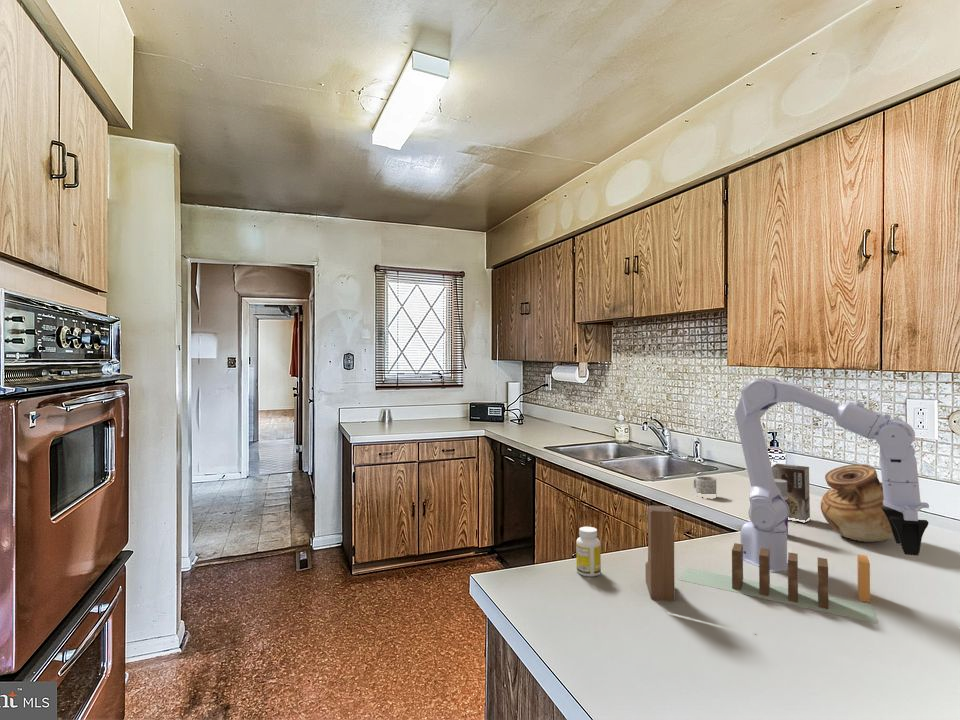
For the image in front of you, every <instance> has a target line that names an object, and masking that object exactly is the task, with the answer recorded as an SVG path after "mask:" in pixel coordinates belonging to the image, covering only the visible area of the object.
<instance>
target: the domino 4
mask: <svg viewBox="0 0 960 720" xmlns="http://www.w3.org/2000/svg"><path fill="white" fill-rule="evenodd" d="M817 594H818V607H820V608H825V609H829V602H828V597H829V563H828V558H824V557H819V556H818V557H817Z"/></svg>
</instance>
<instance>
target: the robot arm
mask: <svg viewBox="0 0 960 720" xmlns="http://www.w3.org/2000/svg"><path fill="white" fill-rule="evenodd" d="M740 394H741V395H740V398H739V401H738V403H737V406H736V408H735V412H734V417H735V421H736V422H735V423H736V427H737V430H738V433H739V439H740V443H741V448H742V452H743V456H744V461H745V464H746V468H747V469H746V470H747V474H748V478H749V479H748V480H749V483H750V486H751V487H750V491H749V492H750V493H749V499H748V500H749V503H750V505H749V508H748V518H749V520H750V521H746V522H745V523H744V524H743V525H742V527H741V530H740V543H739V544H743V562H746V563H749V564H751V565H754V566H755V567H758V568H759V553H760V549H761V548H767V549H770V573H778V572H784V571H788V536H787V527H786V525H785V522H784V520H786V519H787V517H788V516H789V507H788V504H787V503H786V502H785V500H784V499H783V498H782V495H781V491H780V490H779V488H778V487H777V486H776V484H775V480H774V476H773V472H772V464H771V458H770V456H769V450H768V447H767V442H766V439H765V435H764V430H763V426H762V425H763V424H762V421H761V419H762V417H763V415H765V413H767V411H768V410H769V409H770V408H771V407H773V406H775V405H776V404H778V403H796V404H798V405H801V406H803V407H806V408H808V409H811V410H814V411H816V412H820V413H822V414H824V415H827V416H829V417H831V418H833V419H834V421H835V424H836V425H837V426H838V427H840V428H843V429H844V430H847V431H849V432H852V433H854V434H856V435H858V436H861V437H863V438H865V439H868V440H875V442H876V443H877V445H879V452H880V456H879V462H880V463H879V464H880V473H881V475H880V476H881V483H882V486H883V496H884V500H883V505H884V506H886V507H881V509H882V510H883V512H884V513H885V515H886V517H887V519H888V521H889V524H890V527H891V530H892V533H893V540H894V541H895V542H896V544H900V546H901V549H902V552H903V553H904V555H908V556H915V557H917V556H919V555H920V551H921V546H922V540H923V535H924V533H925V530H926V529H928V526H929V521H928V520H927V519H919V515H918V513H919V512H920V511H921V510H922V509H930V504H928V502H925V501H924V502H923V501H922V500H921V493H920V492H921V491H920V483H919V482H920V481H919V473H918V464H917V463H918V462H917V458H916V456H915V454H916V450H915V448H914V445H913V443H914V441H915V438H916V433H915V430H914V428H913V427H912V425H910V424H909V423H907V422H906V421H904V420H903V419H901V418H900V419H899V418H892V414H889V413H885V414H882V413H880V412H877V411H874V410H873V409H869V408H867V407H865V404H864V403H862V402H860V401H857V402H856V403H854V402H853V401H852V402H851V401H849V402H845V403H842V404H840V403H839V402H837V401H834V400H832V399H829V398H827V397H825V396H822V395H820V394H819V393H816V392H813V391H811V390H810V389H807V388H805V387H802V386H800V385H797V384H794V383H792V382H788V381H784V380H779V379H778V378H775V377H766V378H762V377H760V378H759V377H758V378H753V379H751V380H750V381H748V383H746V385H745V386H744V387H743V388H742V389H741V391H740ZM891 418H892V419H891Z"/></svg>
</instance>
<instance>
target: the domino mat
mask: <svg viewBox="0 0 960 720" xmlns="http://www.w3.org/2000/svg"><path fill="white" fill-rule="evenodd" d="M678 580H679V581H682V582H685V583H686V582H687V583H690V584H691V583H692V584H695V585H700V586H705V587H708V588H709V587H710V588H714V589H719V590H723V591H727V592H731V593H738V594H741V595H746V596H749V597H756V598H759V599H765V600H768V601H772V602H773V601H774V602H778V603H781V604H786V605H791V606H796V607H801V608H806V609H810V610H814V611H818V612H824V613H829V614H834V615H837V616H842V617H846V618H852V619H856V620H860V621H865V622H870V623H873V624H878V621H877V616H876V615H875V614H876V613H875V610H874V608H873V607H874V606H873V605H871V604H869V603H862V602H856V601H853V600H847V599H843V598H838V597H834V596H828V602H829V609H825V608H820V607H818V593H813V592H808V591H804V590H799V589H798V603H797V602H792V601H788V587H784V586H779V585H774V584H770V589H769V596H765V595H760V594H759V581H755V580H749V579H744V578H743V584H742V587H741V590H737V589H732V575H731V576H730V575H724V574H720V573H715V572H711V571H705V570H701V569H696V568H693V567H692V568H691V567H686V568H685V569H684V571H683V573H682V574H681V576H680V578H679V579H678Z"/></svg>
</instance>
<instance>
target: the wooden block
mask: <svg viewBox="0 0 960 720" xmlns="http://www.w3.org/2000/svg"><path fill="white" fill-rule="evenodd" d="M647 548H648V549H647V554H648V555H647V562H645V584H646V587H647V590H648V593H649V597H650V600H653V601H665V602H675V513H674V510H673V509H672V507H671V506H667V505H648V507H647Z"/></svg>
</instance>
